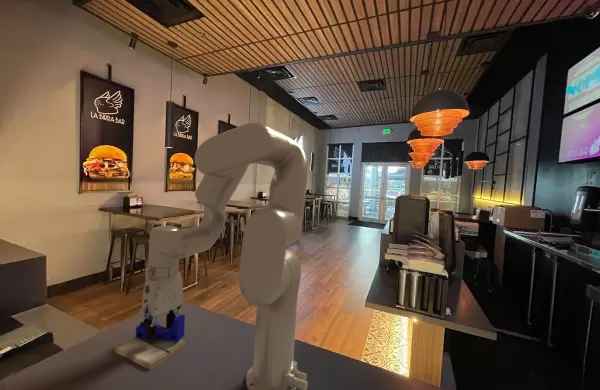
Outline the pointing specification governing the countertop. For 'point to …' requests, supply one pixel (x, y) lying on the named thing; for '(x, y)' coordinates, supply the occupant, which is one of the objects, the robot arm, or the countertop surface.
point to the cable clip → (164, 330)
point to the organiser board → (149, 351)
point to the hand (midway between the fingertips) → (161, 332)
